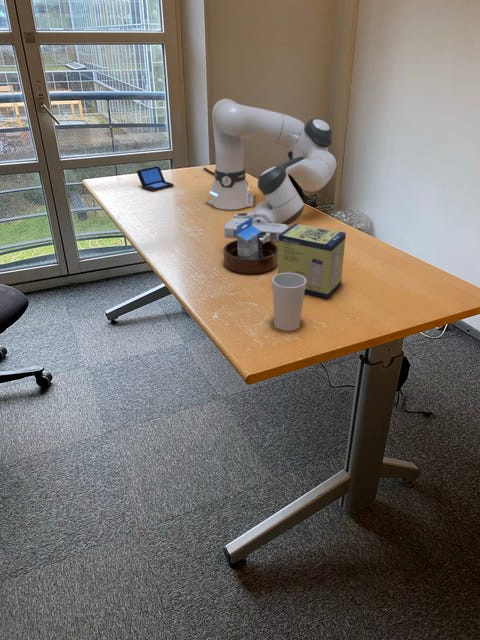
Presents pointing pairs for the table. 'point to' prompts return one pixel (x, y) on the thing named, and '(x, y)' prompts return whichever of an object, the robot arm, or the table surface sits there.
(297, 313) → the cup
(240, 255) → the label tape box
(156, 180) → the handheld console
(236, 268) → the bowl
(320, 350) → the table surface
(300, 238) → the protein box
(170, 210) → the table surface
